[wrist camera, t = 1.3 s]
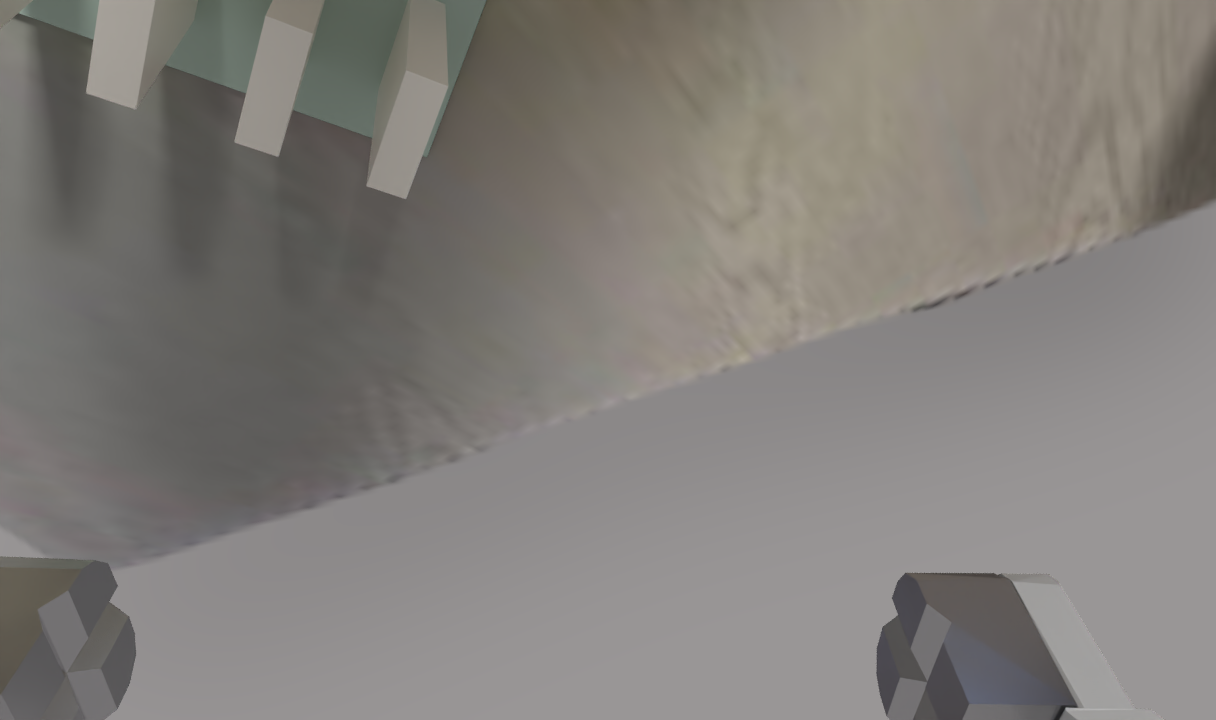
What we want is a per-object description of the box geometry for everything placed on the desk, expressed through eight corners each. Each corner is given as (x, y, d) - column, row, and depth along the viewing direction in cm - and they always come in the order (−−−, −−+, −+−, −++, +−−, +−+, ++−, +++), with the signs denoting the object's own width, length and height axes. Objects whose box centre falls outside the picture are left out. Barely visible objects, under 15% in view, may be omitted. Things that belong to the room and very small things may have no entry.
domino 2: (272, 49, 41) (234, 142, 33) (299, -58, 38) (265, 15, 30) (307, 62, 41) (278, 156, 33) (336, -42, 39) (313, 33, 31)
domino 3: (378, 89, 42) (366, 186, 35) (411, -11, 40) (406, 70, 32) (410, 101, 43) (406, 199, 35) (445, 4, 41) (448, 86, 33)
